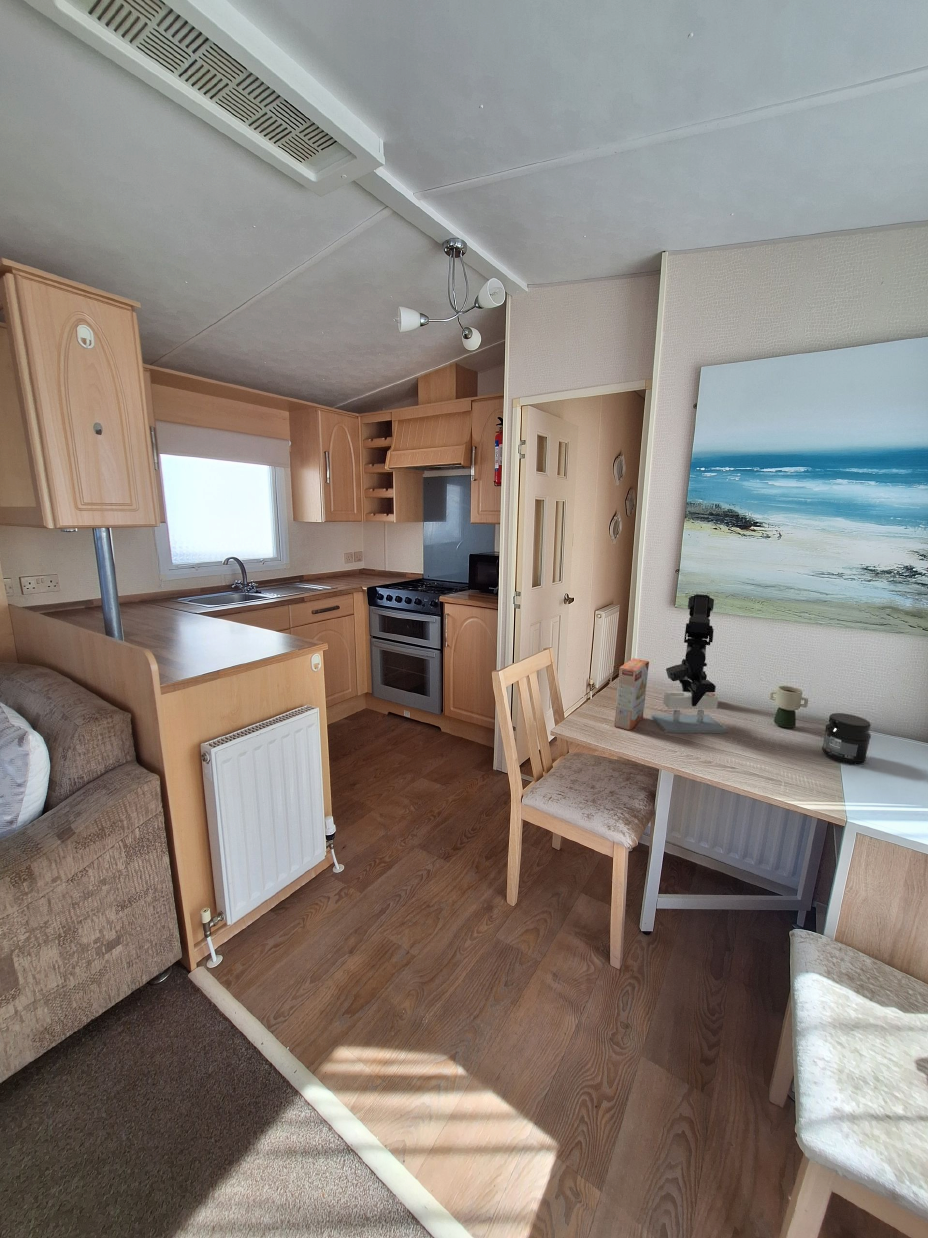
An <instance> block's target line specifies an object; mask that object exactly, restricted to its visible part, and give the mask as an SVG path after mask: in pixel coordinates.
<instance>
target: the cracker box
mask: <svg viewBox="0 0 928 1238" xmlns="http://www.w3.org/2000/svg"><path fill="white" fill-rule="evenodd" d="M649 665H650V661H649V660H645V659H641V658H631V659H630V660H629V661H627V662H626V663H624V664H623V665H621V666H620V667H619V669H618V670H619V672H618V683H617V692H616V703H615V714H614V723H613V725H614V726H613V727H616V728H620V729H623V730H626V731H631V730H632V729H633V728H634V727H635V726H636V725H637V724H638V723H639V722H640V721H641V720H642V719H643V718H644V710H645V705H646V703H645V701H646V693H647V684H648V674H649Z"/></svg>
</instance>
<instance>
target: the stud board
mask: <svg viewBox="0 0 928 1238" xmlns="http://www.w3.org/2000/svg"><path fill="white" fill-rule="evenodd" d="M696 713H697V714H681V711H680V709H673V714H671V713H670V714H668V713H666V714H663V713H662V714H661V713H659V714H658V713H657V714H656V713H653V714H651V715H650V719H652V720H653V722H655V723H656V724H657V725H658V726H659V727H660V729H661V730H662V731H663V732H664V733H665V734H667V733H668V734H670V733H674V734H675V733H677V734H680V733H681V734H683V733H684V734H685V733H687V734H688V733H690V734H692V733H693V734H695V733H697V734H706V733H708V734H710V733H711V734H714V733H715V734H726V733H727V728H725V727H724V726H723V725H722V724H721V723H719V722H718V721H717V720H716V719H715V718H713V716H711V715H710V714H705V711H704V709H697V712H696Z"/></svg>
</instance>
